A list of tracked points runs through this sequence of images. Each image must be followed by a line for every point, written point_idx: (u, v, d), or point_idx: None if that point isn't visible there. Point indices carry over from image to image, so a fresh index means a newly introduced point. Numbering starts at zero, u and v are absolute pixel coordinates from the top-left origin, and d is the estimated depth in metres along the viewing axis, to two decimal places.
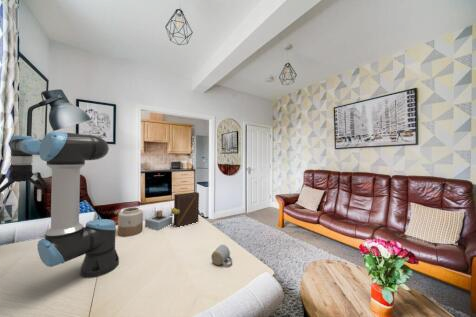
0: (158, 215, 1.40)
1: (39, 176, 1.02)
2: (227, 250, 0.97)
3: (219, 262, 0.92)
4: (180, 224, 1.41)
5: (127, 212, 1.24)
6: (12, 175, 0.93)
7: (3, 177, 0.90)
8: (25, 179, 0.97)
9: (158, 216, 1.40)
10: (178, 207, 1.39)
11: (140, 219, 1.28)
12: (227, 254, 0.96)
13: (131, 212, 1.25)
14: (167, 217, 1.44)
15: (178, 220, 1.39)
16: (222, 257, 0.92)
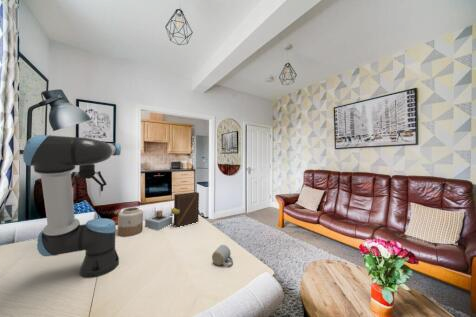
0: (158, 215, 1.40)
1: (99, 175, 1.16)
2: (227, 250, 0.97)
3: (220, 262, 0.92)
4: (180, 224, 1.41)
5: (127, 212, 1.24)
6: (79, 173, 1.11)
7: (73, 174, 1.09)
8: (89, 177, 1.13)
9: (158, 216, 1.40)
10: (178, 207, 1.39)
11: (140, 219, 1.28)
12: (228, 254, 0.95)
13: (131, 212, 1.25)
14: (167, 217, 1.44)
15: (178, 220, 1.39)
16: (223, 257, 0.92)
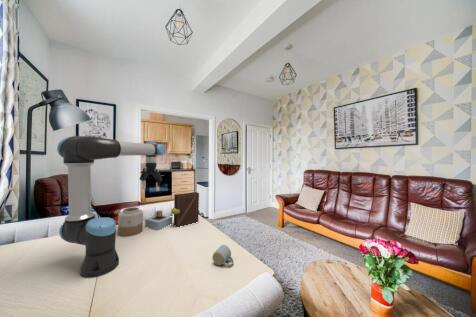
0: (158, 215, 1.40)
1: (156, 172, 1.34)
2: (228, 250, 0.96)
3: (220, 262, 0.91)
4: (180, 224, 1.41)
5: (127, 212, 1.24)
6: (146, 169, 1.37)
7: (143, 170, 1.38)
8: (151, 173, 1.36)
9: (158, 216, 1.40)
10: (178, 207, 1.39)
11: (140, 219, 1.28)
12: (228, 254, 0.95)
13: (131, 212, 1.25)
14: (167, 217, 1.44)
15: (178, 220, 1.39)
16: (223, 257, 0.92)
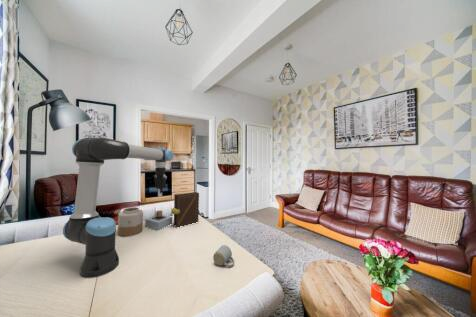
0: (158, 215, 1.40)
1: (163, 179, 1.39)
2: (229, 250, 0.96)
3: (221, 263, 0.91)
4: (180, 224, 1.41)
5: (127, 212, 1.24)
6: (156, 174, 1.42)
7: (154, 177, 1.43)
8: None
9: (158, 216, 1.40)
10: (178, 207, 1.39)
11: (140, 219, 1.28)
12: (229, 255, 0.95)
13: (131, 212, 1.25)
14: (167, 217, 1.44)
15: (178, 220, 1.39)
16: (224, 258, 0.91)
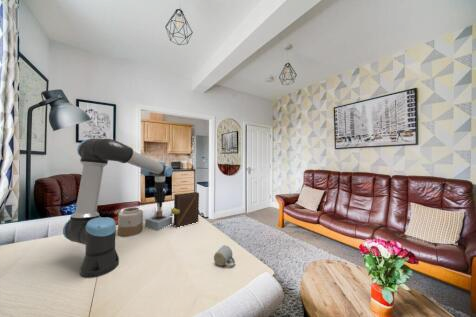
0: (158, 215, 1.40)
1: (163, 193, 1.39)
2: (229, 250, 0.96)
3: (222, 263, 0.91)
4: (180, 224, 1.41)
5: (127, 212, 1.24)
6: (155, 188, 1.42)
7: (153, 191, 1.43)
8: None
9: (158, 216, 1.40)
10: (178, 207, 1.39)
11: (140, 219, 1.28)
12: (230, 255, 0.95)
13: (131, 212, 1.25)
14: (167, 217, 1.44)
15: (178, 220, 1.39)
16: (225, 258, 0.91)
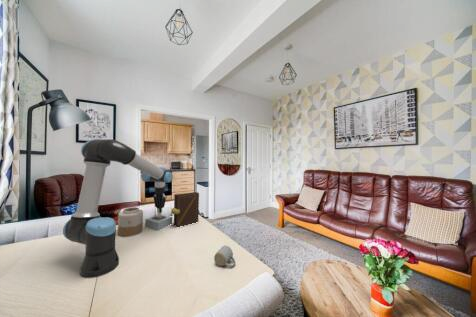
0: None
1: (162, 199, 1.39)
2: (230, 250, 0.96)
3: (222, 263, 0.91)
4: (180, 224, 1.41)
5: (127, 212, 1.24)
6: (155, 193, 1.42)
7: (153, 196, 1.43)
8: None
9: None
10: (178, 207, 1.39)
11: (140, 219, 1.28)
12: (230, 255, 0.95)
13: (131, 212, 1.25)
14: (167, 217, 1.44)
15: (178, 220, 1.39)
16: (225, 258, 0.91)
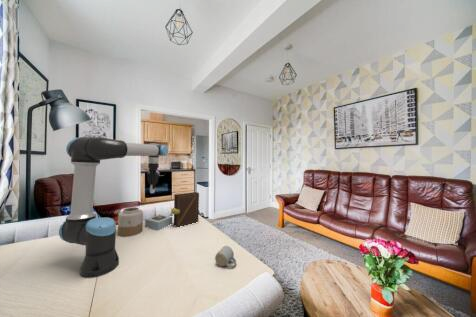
0: None
1: (156, 174, 1.38)
2: (231, 251, 0.96)
3: (223, 263, 0.91)
4: (180, 224, 1.41)
5: (127, 212, 1.24)
6: (149, 170, 1.41)
7: (147, 173, 1.42)
8: None
9: None
10: (178, 207, 1.39)
11: (140, 219, 1.28)
12: (231, 255, 0.95)
13: (131, 212, 1.25)
14: (167, 217, 1.44)
15: (178, 220, 1.39)
16: (226, 258, 0.91)
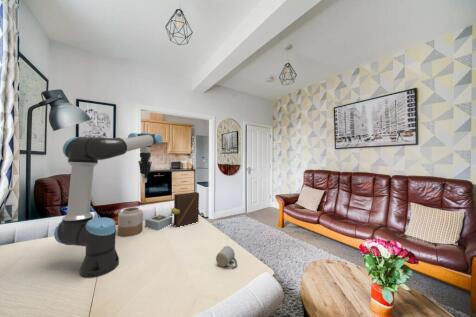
0: None
1: (148, 164, 1.37)
2: (232, 251, 0.95)
3: (224, 264, 0.90)
4: (180, 224, 1.41)
5: (127, 212, 1.24)
6: (141, 159, 1.41)
7: (139, 162, 1.41)
8: None
9: None
10: (178, 207, 1.39)
11: (140, 219, 1.28)
12: (232, 256, 0.94)
13: (131, 212, 1.25)
14: (167, 217, 1.44)
15: (178, 220, 1.39)
16: (227, 259, 0.91)
